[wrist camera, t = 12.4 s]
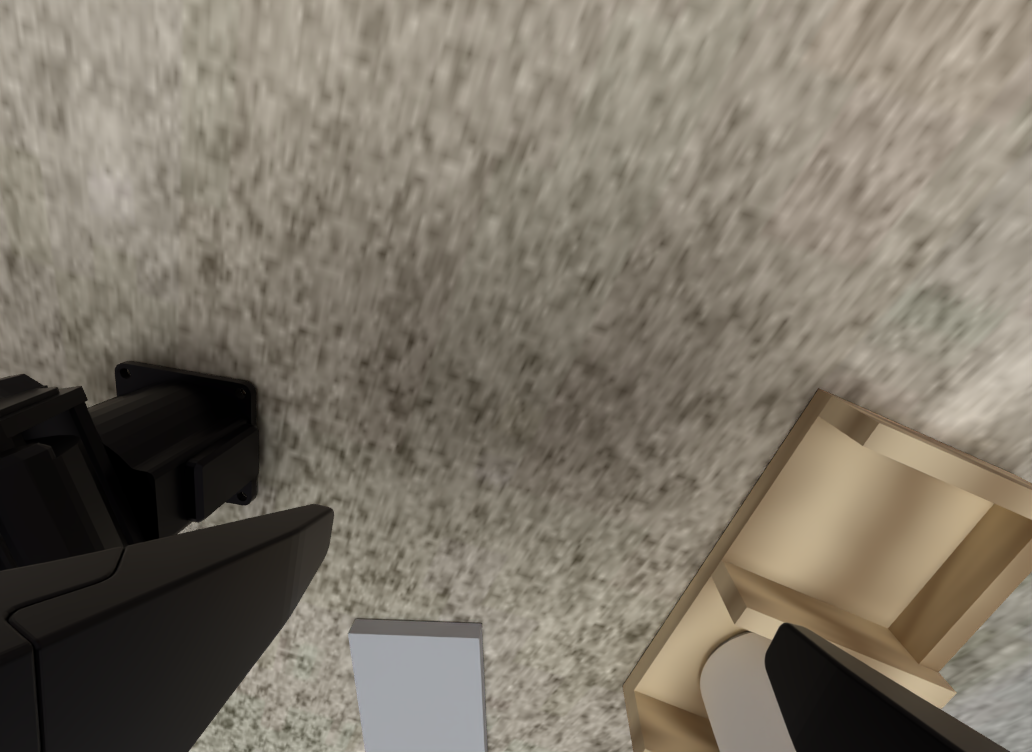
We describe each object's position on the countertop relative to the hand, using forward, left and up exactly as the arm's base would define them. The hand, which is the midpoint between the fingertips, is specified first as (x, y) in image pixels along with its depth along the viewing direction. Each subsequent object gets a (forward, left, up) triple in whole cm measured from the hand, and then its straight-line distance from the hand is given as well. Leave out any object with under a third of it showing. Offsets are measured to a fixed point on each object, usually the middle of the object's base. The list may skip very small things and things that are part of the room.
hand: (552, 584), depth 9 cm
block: (-4, -20, -13) cm, 24 cm away
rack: (+14, -9, -13) cm, 21 cm away
